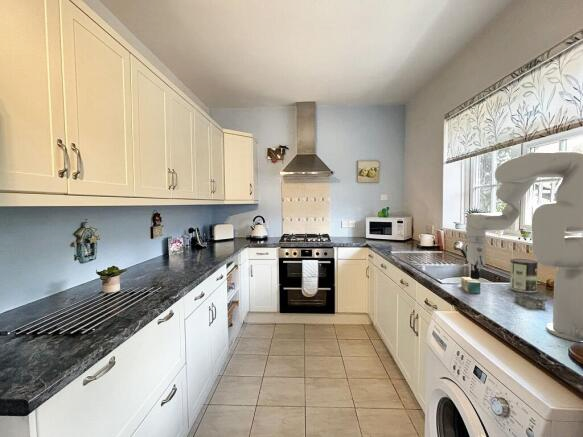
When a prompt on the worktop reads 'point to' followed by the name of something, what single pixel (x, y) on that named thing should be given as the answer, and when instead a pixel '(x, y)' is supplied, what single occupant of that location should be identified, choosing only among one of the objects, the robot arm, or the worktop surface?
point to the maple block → (470, 285)
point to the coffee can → (523, 275)
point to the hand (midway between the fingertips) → (474, 278)
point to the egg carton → (526, 301)
